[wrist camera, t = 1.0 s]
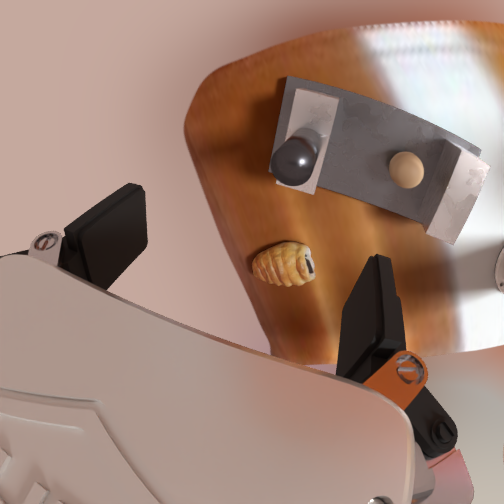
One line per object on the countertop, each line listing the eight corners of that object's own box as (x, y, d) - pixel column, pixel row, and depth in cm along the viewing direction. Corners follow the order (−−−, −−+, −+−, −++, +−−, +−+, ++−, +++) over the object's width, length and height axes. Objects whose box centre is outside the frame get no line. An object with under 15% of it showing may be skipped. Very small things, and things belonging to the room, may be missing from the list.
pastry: (263, 281, 46) (256, 297, 43) (247, 246, 43) (238, 261, 40) (319, 273, 42) (316, 290, 39) (306, 234, 39) (302, 249, 36)
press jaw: (339, 97, 26) (337, 105, 16) (318, 178, 32) (302, 234, 22) (303, 87, 26) (277, 90, 16) (285, 169, 32) (252, 218, 22)
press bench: (476, 146, 24) (499, 161, 19) (442, 227, 31) (455, 254, 26) (289, 76, 27) (277, 74, 22) (271, 168, 35) (256, 185, 30)
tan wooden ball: (423, 155, 26) (433, 165, 23) (412, 186, 29) (419, 199, 25) (392, 142, 27) (399, 150, 24) (382, 174, 29) (386, 186, 26)
